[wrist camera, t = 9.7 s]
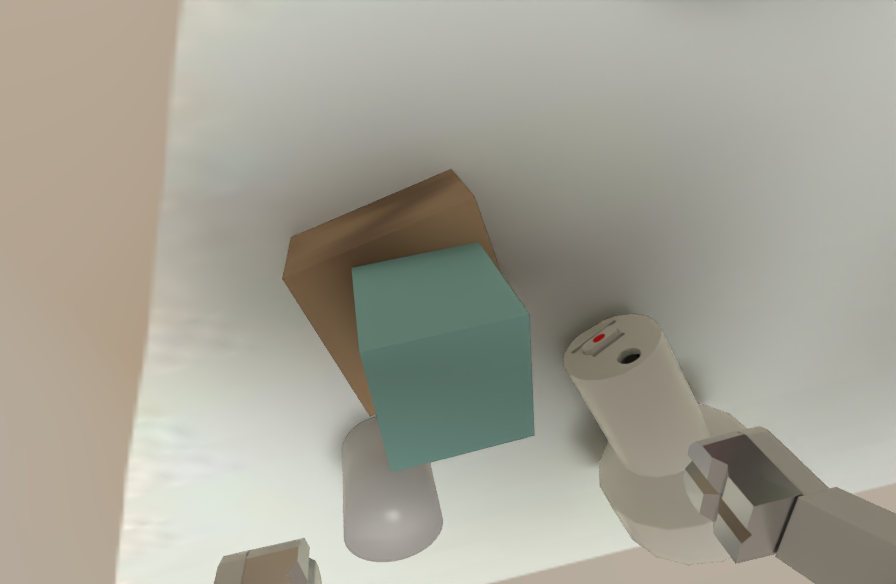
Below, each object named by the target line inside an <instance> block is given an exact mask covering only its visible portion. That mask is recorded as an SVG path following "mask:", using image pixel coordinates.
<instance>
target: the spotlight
mask: <svg viewBox="0 0 896 584" xmlns="http://www.w3.org/2000/svg"><path fill="white" fill-rule="evenodd" d="M564 367H565V369H566V371H567V372H568V374H569V376H570V377H571V379H572V381H573V382H574V384H575V386H576V388H577V389H578V391H579V393H580V394H581V396H582V398H583V399H584V401H585V403H586V404H587V406H588V408H589V409H590V411H591V413H592V414H593V416H594V418H595V420H596V421H597V423H598V425H599V426H600V428H601V430H602V431H603V433H604V435H605V436H606V438H607V440H608V442H607V445H606V447H605V449H604V452H603V454H602V457H601V459H600V461H599V482H600V487H601V489H602V491H603V493H604V494H605V496H606V498H607V500H608V501H609V503H610V505H611V507H612V508H613V510H614V511H615V513H616V515H617V516H618V518H619V519H620V521H621V523H622V524H623V526H624V527H625V529H626V530H627V532H628V534H629V535H630V537H631V538H632V540H634V541H635V542H636V543H638V544H639V545H641V546H642V547H643V548H645V549H646V550H648V551H649V552H650V553H651V554H653V555H654V556H656V557H659V558H663V559H667V560H670V561H674V562H678V563H682V564H686V565H694V564H704V563H714V562H723V561H725V560H727V559H729V558H731V557H730V555H729V554H728V553H727V551H726V550H725V548H724V547H723V546H722V544H721V543H720V542H719V540H718V539H717V537H716V536H715V535H714V533H713V521H712V520H710V519H708V518H706V517H705V516H703V515H701V514H699V512H698V511H697V510H696V508H695V507H694V505H693V504H692V502H691V500H690V498H689V496H688V494H687V492H686V488H685V484H684V480H683V478H684V471H685V468H686V467H687V466H688V465H689V464H690V462H691V461H692V460H691V458H690V457H689V456H688V450H689V446H690V445H691V444H692V443H693V442H696V441H700V440H704V439H708V438H711V437H715V436H719V435H723V434H727V433H730V432H738V431H741V430H745V429H747V428H746V427H745V426H744V425H743V424H741V423H740V422H739V421H738V420H737V419H736V418H734V417H733V416H732V415H731V414H730V413H727V412H724V411H721V410H718V409H715V408H712V407H709V406H706V405H700V404H698V403H697V401H696V399H695V397H694V395H693V393H692V391H691V389H690V387H689V385H688V383H687V381H686V379H685V377H684V375H683V373H682V371H681V369H680V367H679V364H678V362H677V360H676V358H675V356H674V354H673V352H672V350H671V348H670V346H669V344H668V342H667V340H666V338H665V336H664V334H663V332H662V330H661V328H660V326H659V324H658V323H657V322H656V321H654V320H653V319H651V318H650V317H649V316H644V315H638V314H627V315H618V316H614V317H611V318H608V319H605V320H603V321H602V322H600V323H598V324H597V325H595V326H593V327H591V328H590V329H588V330H586V331H585V332H583V333H581V334H580V335H578V336H577V337H576V338H575V339H574V340H573V341H572V342H571V343H570V345H569V347H568V349H567V350H566V352H565V354H564Z"/></svg>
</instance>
